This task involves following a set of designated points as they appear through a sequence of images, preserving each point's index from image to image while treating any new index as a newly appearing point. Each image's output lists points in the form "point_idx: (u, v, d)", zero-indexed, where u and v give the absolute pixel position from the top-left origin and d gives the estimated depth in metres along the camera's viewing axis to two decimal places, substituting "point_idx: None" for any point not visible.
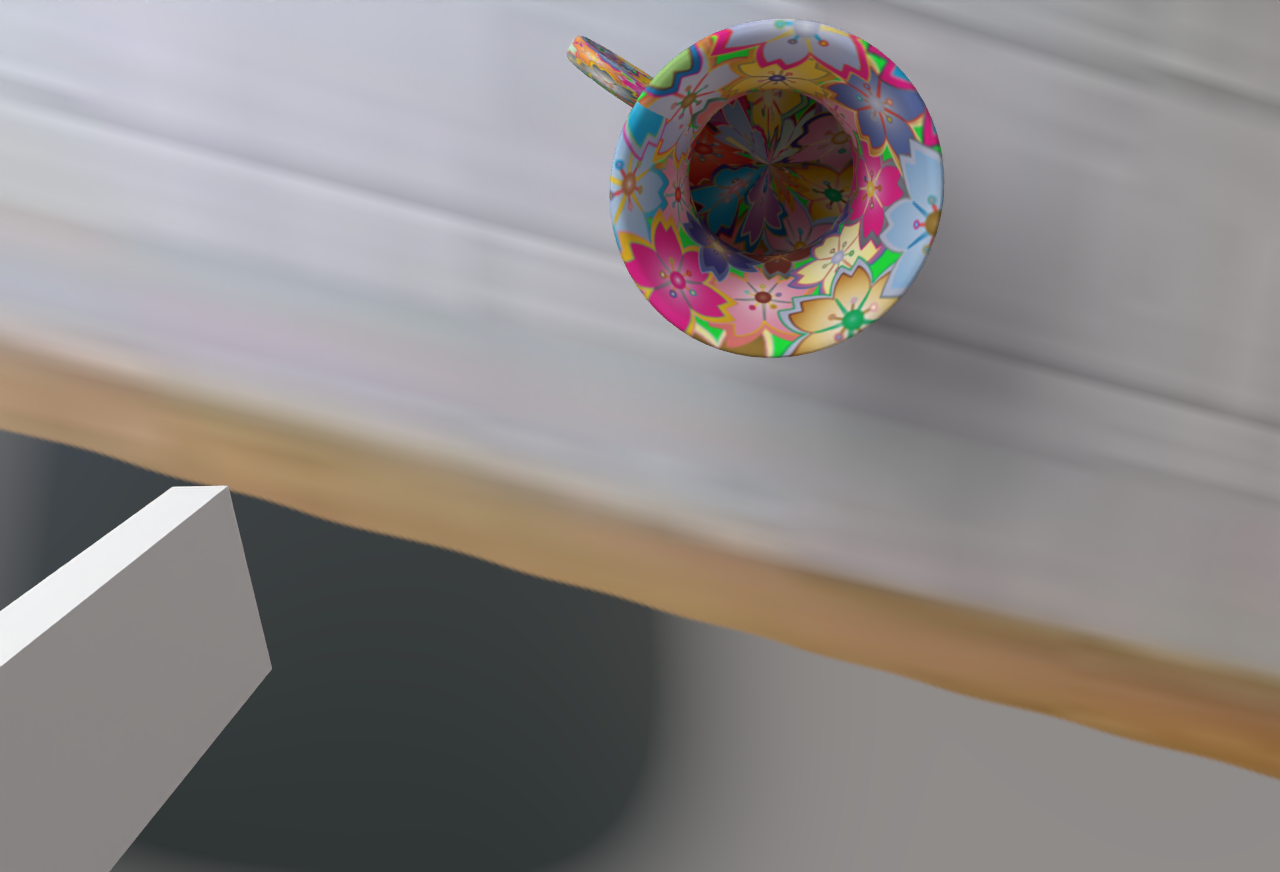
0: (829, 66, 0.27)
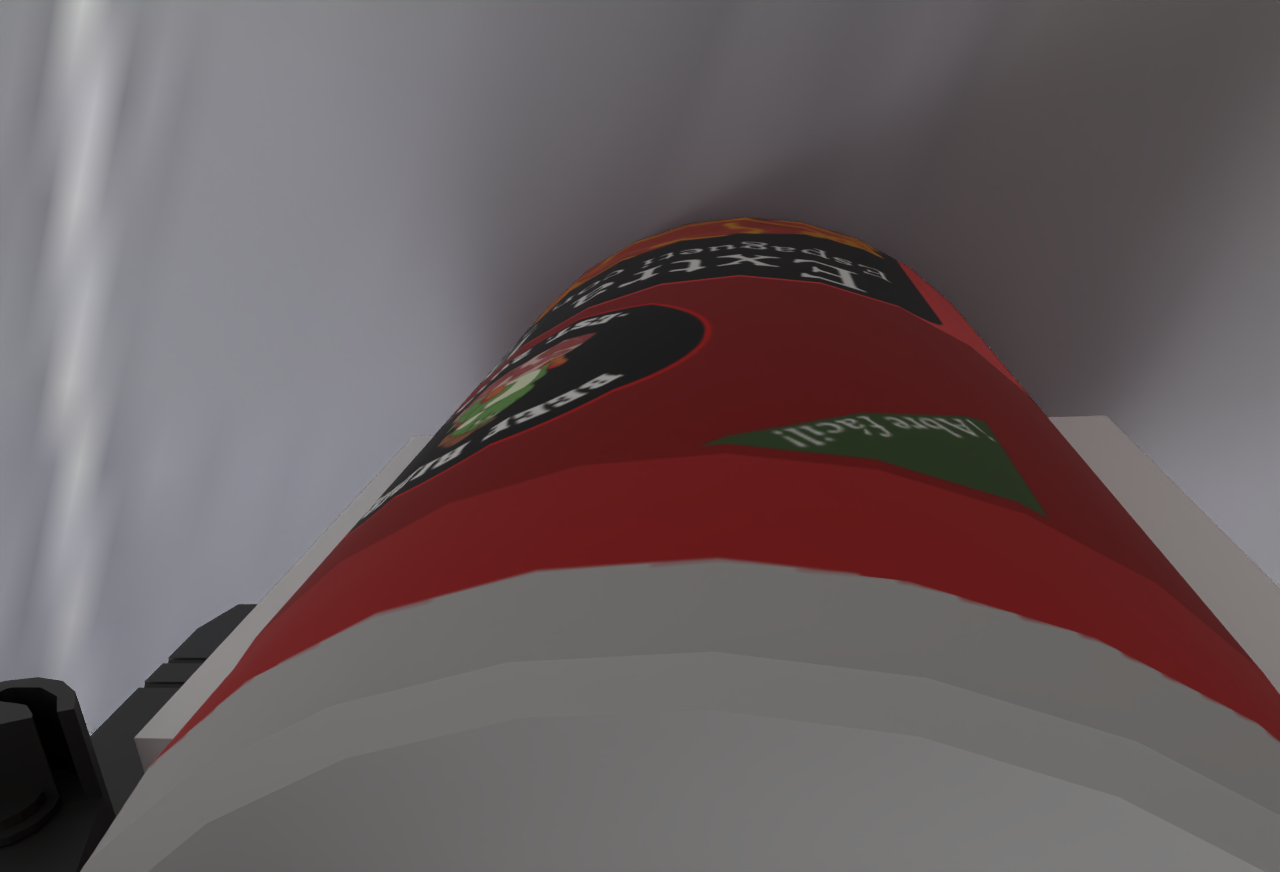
0: None
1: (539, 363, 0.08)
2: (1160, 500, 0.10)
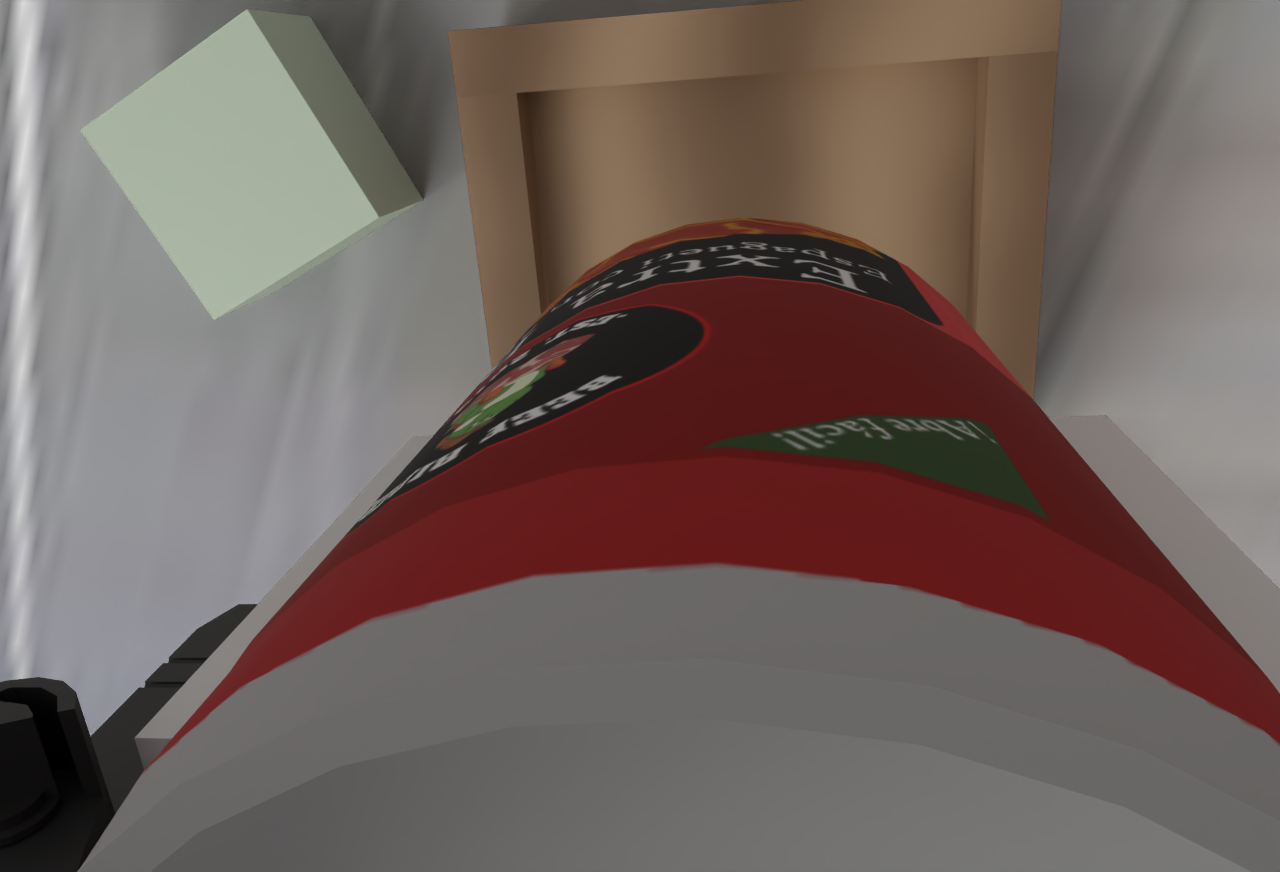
0: None
1: (537, 364, 0.08)
2: (1160, 500, 0.10)
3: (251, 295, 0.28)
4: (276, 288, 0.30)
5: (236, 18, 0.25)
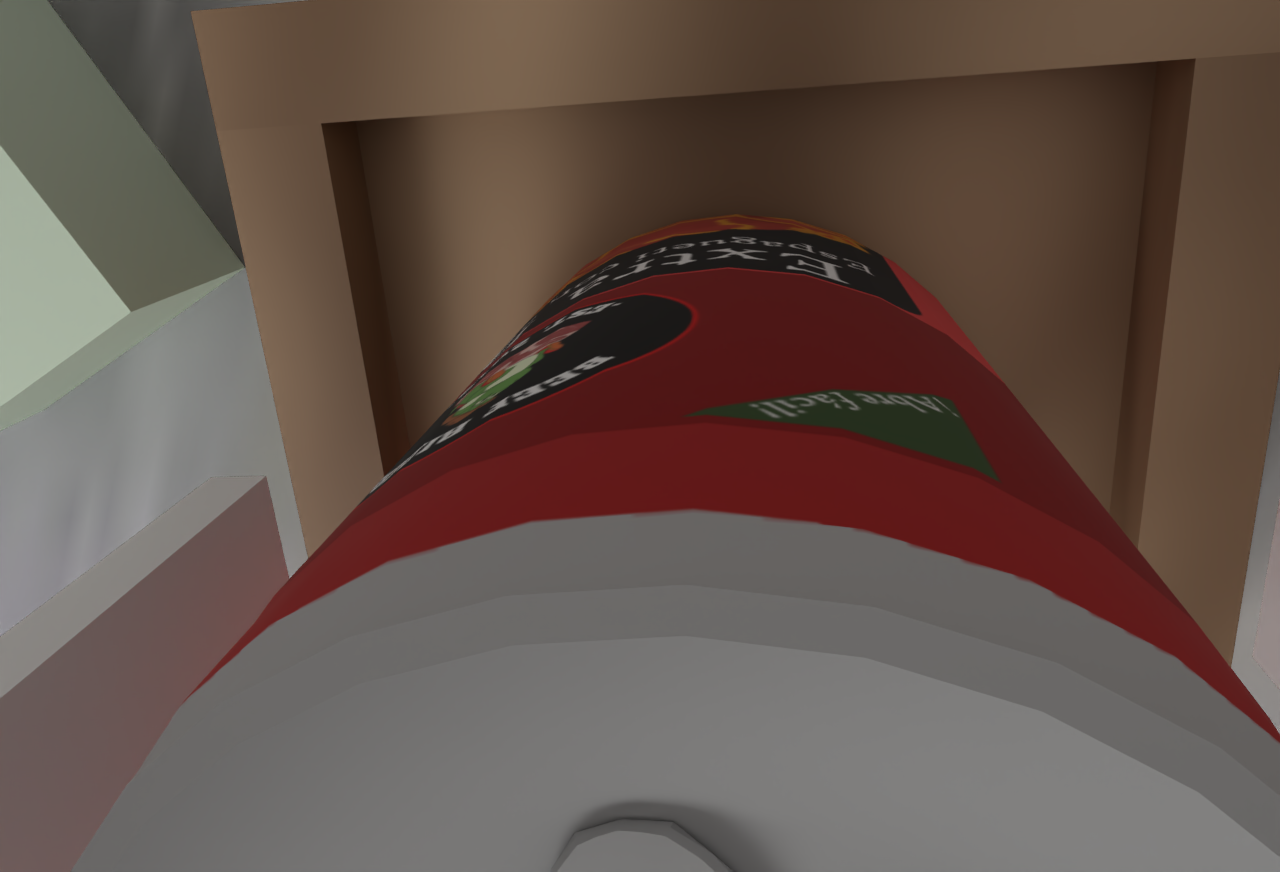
0: None
1: (537, 349, 0.08)
2: None
3: None
4: (32, 410, 0.20)
5: None
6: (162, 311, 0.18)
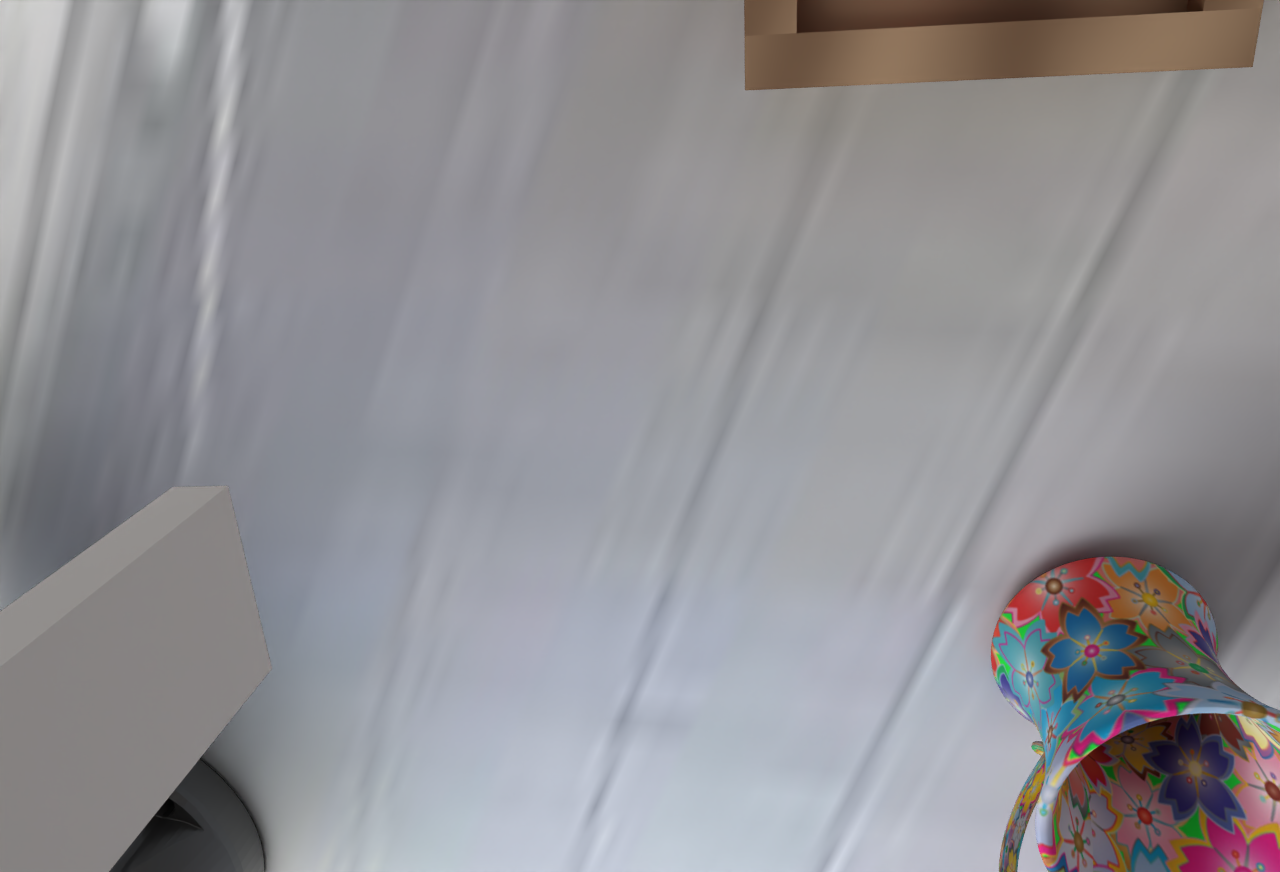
0: None
1: None
2: None
3: None
4: None
5: None
6: None
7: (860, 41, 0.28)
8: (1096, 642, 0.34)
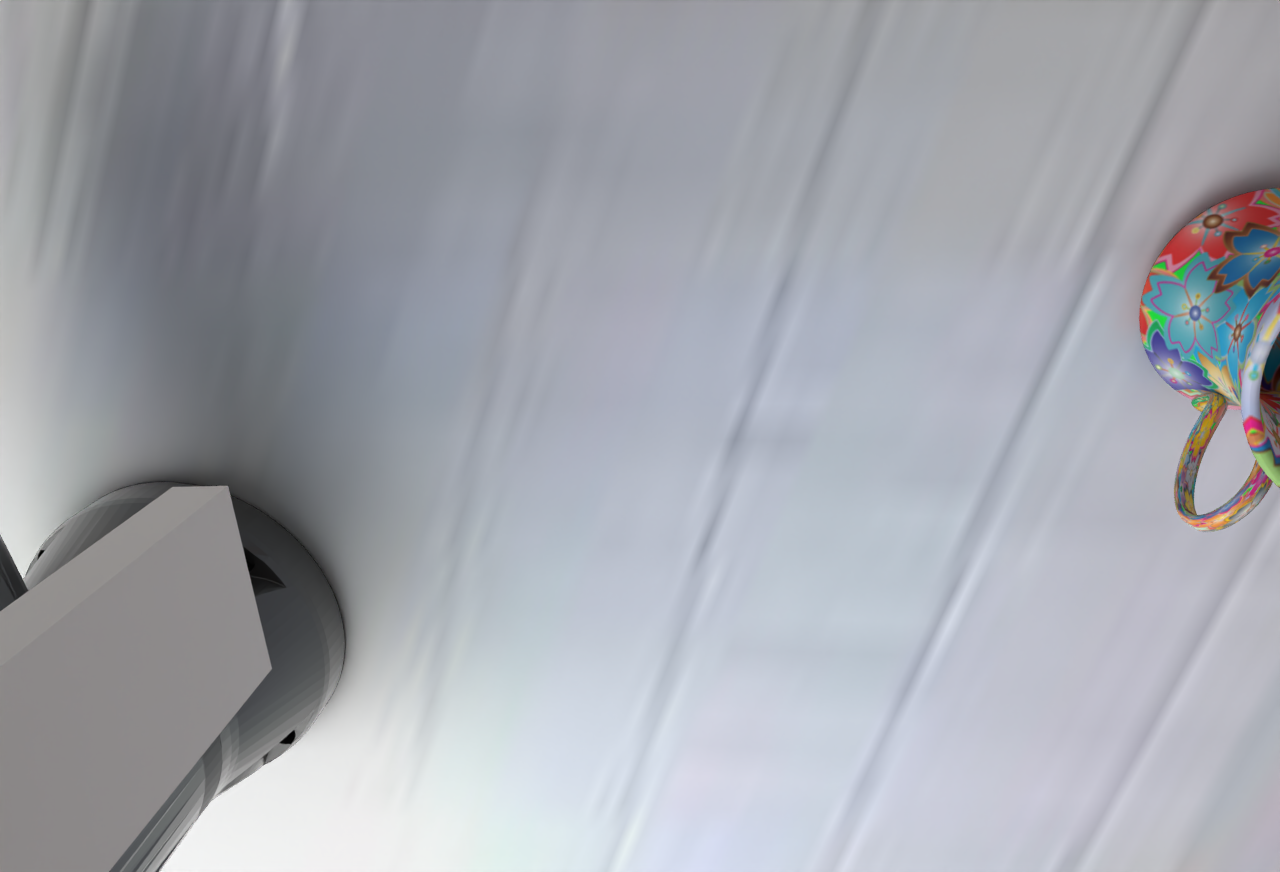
0: None
1: None
2: None
3: None
4: None
5: None
6: None
7: None
8: (1276, 245, 0.32)
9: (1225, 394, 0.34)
